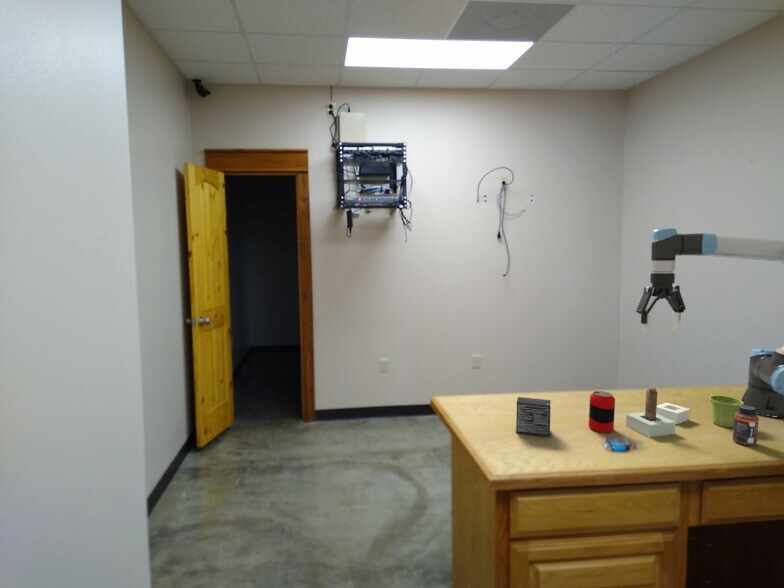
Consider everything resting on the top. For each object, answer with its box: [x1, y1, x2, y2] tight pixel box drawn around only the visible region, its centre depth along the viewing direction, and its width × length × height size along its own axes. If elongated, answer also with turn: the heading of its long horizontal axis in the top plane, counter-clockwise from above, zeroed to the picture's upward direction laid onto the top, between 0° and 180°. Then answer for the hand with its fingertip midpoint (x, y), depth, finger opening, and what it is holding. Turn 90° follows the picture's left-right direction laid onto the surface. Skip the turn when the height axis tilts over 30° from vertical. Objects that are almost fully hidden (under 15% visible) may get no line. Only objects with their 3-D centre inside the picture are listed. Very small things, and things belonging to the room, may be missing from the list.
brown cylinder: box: [644, 386, 658, 421], centre depth 152 cm, size 3×3×14 cm
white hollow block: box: [656, 402, 691, 425], centre depth 163 cm, size 8×8×4 cm
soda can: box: [588, 390, 616, 434], centre depth 153 cm, size 8×8×12 cm
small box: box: [515, 396, 552, 438], centre depth 151 cm, size 11×6×10 cm, turn 71°
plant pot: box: [709, 394, 744, 428], centre depth 157 cm, size 9×9×9 cm
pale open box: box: [625, 411, 677, 438], centre depth 153 cm, size 10×10×4 cm
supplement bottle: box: [732, 405, 760, 447], centre depth 143 cm, size 6×6×11 cm
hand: (660, 331), depth 167 cm, fingers open, 13 cm apart
